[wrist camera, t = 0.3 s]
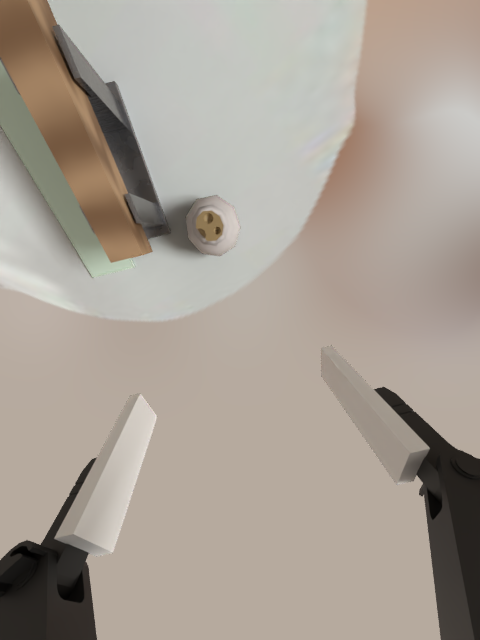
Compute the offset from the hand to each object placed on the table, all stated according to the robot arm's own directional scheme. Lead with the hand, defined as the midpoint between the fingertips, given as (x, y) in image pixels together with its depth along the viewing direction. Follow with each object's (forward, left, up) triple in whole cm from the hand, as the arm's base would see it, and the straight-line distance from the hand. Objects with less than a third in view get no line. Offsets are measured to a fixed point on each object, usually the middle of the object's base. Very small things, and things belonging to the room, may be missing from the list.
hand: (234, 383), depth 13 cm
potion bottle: (-10, +1, -27) cm, 29 cm away
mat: (-20, -20, -27) cm, 39 cm away
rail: (-20, -10, -19) cm, 30 cm away
